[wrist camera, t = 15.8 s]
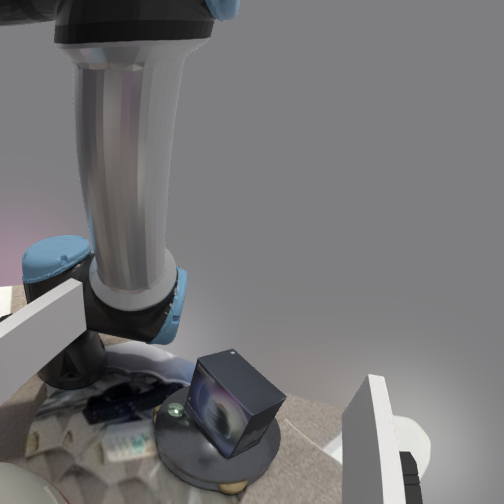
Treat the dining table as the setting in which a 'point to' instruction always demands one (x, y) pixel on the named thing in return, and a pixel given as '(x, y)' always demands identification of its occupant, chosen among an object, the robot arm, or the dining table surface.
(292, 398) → the dining table surface
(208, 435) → the small box
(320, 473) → the dining table surface
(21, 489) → the kitchen timer
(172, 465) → the plate
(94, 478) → the dining table surface
